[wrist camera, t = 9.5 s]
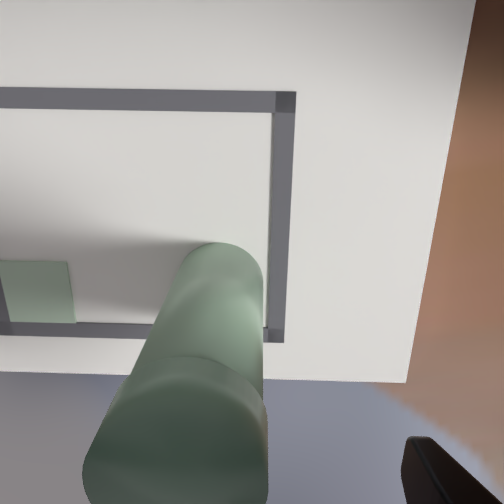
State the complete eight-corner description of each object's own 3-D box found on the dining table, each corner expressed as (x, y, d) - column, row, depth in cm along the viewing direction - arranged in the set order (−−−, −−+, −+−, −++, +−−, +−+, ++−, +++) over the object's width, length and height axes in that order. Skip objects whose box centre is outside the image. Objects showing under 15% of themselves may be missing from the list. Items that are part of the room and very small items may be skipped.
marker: (267, 240, 14) (271, 417, 7) (264, 323, 15) (265, 551, 8) (172, 238, 14) (69, 410, 7) (176, 321, 15) (94, 545, 8)
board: (523, -365, 10) (607, -509, 7) (397, 366, 17) (418, 411, 15) (-335, -360, 10) (-518, -495, 8) (-91, 352, 17) (-145, 393, 15)
